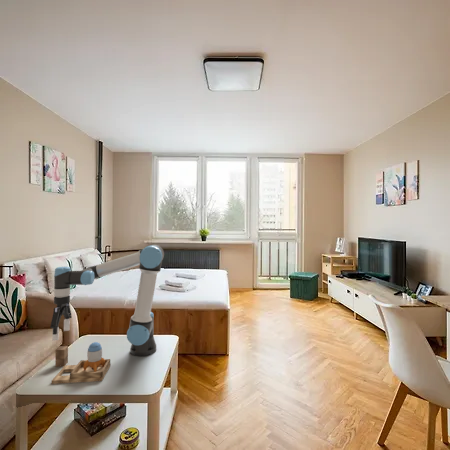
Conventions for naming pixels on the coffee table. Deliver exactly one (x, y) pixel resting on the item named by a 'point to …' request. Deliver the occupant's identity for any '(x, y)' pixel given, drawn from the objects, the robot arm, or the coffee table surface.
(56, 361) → the block
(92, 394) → the coffee table surface
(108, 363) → the tray
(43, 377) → the coffee table surface
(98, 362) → the toy rocket
